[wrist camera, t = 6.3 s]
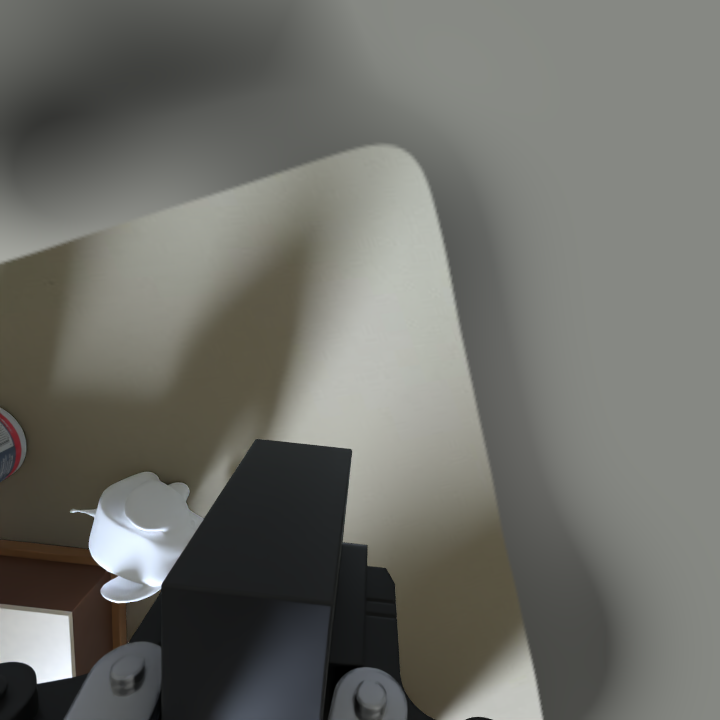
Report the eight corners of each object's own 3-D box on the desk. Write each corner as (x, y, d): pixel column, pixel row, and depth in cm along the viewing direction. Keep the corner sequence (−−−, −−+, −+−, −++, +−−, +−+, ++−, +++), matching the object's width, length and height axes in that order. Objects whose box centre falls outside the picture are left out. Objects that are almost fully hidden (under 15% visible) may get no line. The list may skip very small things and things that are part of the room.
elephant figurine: (215, 562, 29) (175, 638, 23) (97, 522, 29) (27, 589, 23) (246, 474, 28) (211, 532, 22) (122, 430, 27) (54, 477, 21)
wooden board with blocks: (-25, 536, 29) (-101, 589, 25) (125, 552, 29) (77, 609, 24) (0, 766, 34) (-60, 848, 29) (130, 781, 34) (90, 866, 29)
